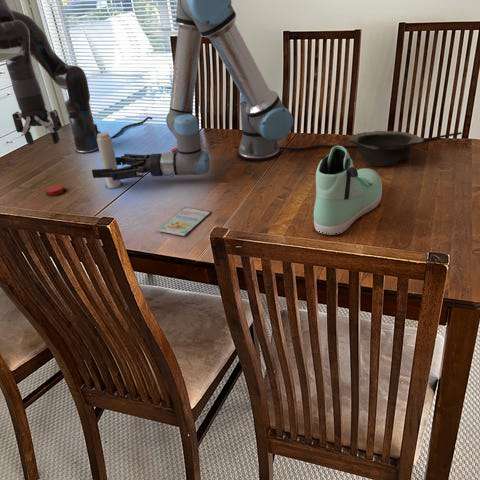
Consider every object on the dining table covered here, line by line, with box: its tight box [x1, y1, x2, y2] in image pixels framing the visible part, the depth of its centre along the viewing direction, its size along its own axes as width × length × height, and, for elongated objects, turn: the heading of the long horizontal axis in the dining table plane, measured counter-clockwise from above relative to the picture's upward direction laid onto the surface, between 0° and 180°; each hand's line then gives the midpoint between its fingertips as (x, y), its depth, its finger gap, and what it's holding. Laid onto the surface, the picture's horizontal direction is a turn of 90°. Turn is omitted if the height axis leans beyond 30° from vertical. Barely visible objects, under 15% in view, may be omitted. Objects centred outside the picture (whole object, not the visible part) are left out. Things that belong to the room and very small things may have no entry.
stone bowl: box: [348, 130, 426, 167], centre depth 167 cm, size 25×25×9 cm
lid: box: [46, 184, 65, 197], centre depth 163 cm, size 5×5×2 cm
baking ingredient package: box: [157, 207, 211, 237], centre depth 139 cm, size 9×1×15 cm
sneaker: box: [313, 146, 383, 236], centre depth 133 cm, size 14×35×20 cm, turn 152°
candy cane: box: [170, 146, 179, 153], centre depth 183 cm, size 6×15×2 cm, turn 145°
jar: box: [97, 131, 122, 189], centre depth 160 cm, size 5×5×18 cm
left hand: (44, 143), depth 154 cm, fingers open, 8 cm apart
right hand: (97, 167), depth 162 cm, fingers open, 9 cm apart
